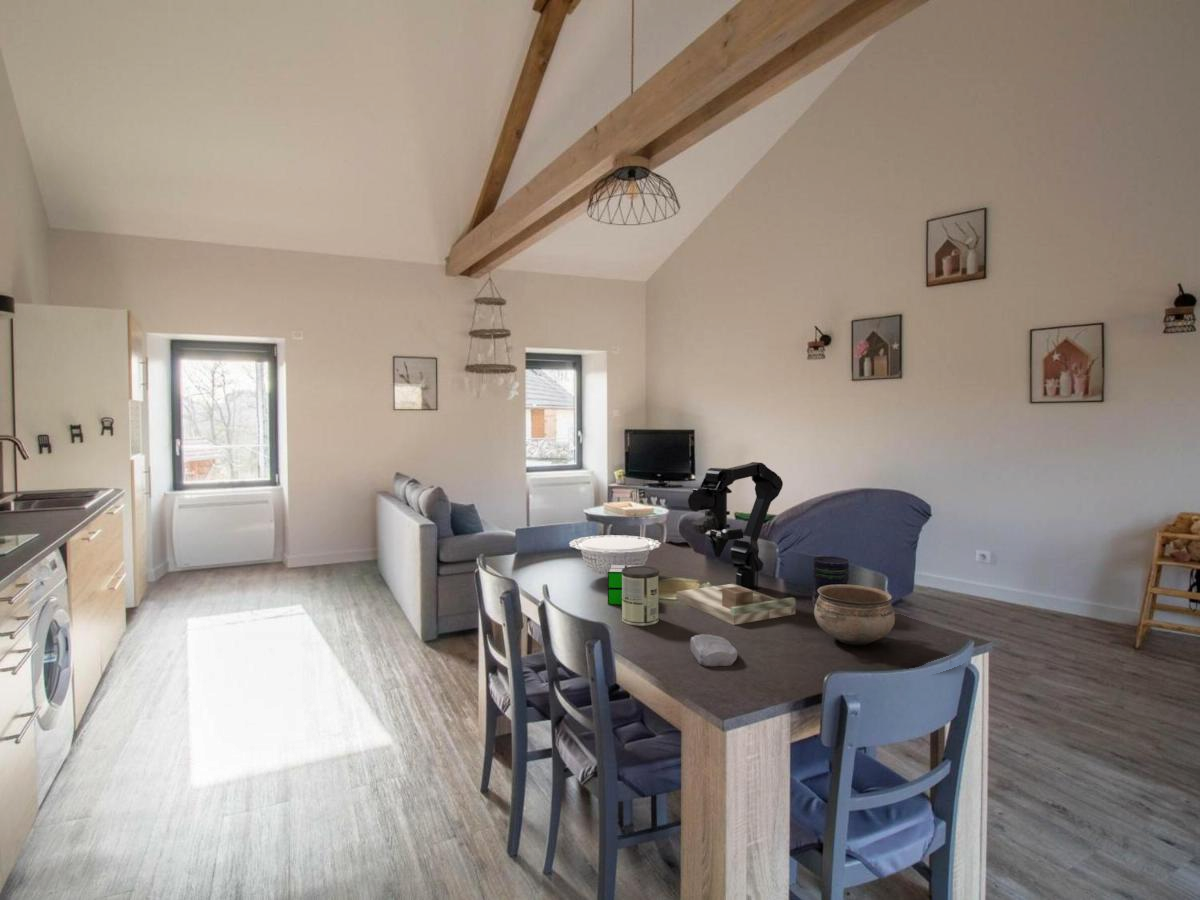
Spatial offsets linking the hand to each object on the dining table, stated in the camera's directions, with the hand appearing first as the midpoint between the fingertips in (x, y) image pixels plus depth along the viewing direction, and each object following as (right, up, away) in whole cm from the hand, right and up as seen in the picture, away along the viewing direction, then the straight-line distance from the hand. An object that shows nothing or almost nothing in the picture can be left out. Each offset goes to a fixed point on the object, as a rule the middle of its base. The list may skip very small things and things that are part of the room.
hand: (717, 557), depth 213 cm
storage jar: (+30, -13, -17) cm, 37 cm away
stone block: (-10, -15, -55) cm, 58 cm away
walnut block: (+1, -11, -23) cm, 25 cm away
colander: (-32, -11, +19) cm, 39 cm away
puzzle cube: (-30, -12, -7) cm, 33 cm away
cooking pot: (+26, -14, -44) cm, 53 cm away
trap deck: (+2, -13, -14) cm, 19 cm away
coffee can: (-26, -13, -27) cm, 40 cm away
